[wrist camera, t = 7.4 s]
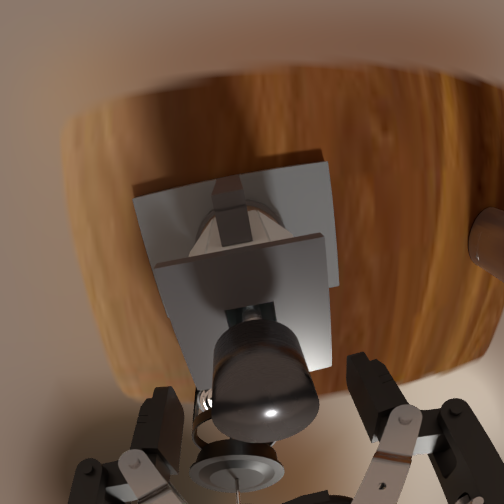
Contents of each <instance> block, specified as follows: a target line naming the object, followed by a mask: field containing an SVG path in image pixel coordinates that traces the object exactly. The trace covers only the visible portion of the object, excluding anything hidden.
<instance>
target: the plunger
mask: <svg viewBox="0 0 504 504" xmlns="http://www.w3.org/2000/svg"><path fill="white" fill-rule="evenodd" d="M241 312H242V322H241V323H238V324H236V325H234V326H232V327H231V328H229V329H228V330H226V331H225V332H224V333H223V334H222V335H221V336H220V338H219V339H218V341H217V343H216V345H215V348H214V355H213V378H212V407H211V416H212V420H213V423H214V425H215V426H216V427H217V429H218V430H220V431H221V432H222V433H223V434H225V435H227V436H229V437H231V438H233V439H236V440H239V441H244V442H251V443H266V442H273V441H278V440H282V439H285V438H288V437H290V436H293V435H295V434H297V433H299V432H300V431H302V430H303V429H305V428H306V427H307V426H308V425H309V424H310V423H311V422H312V421H313V420H314V418H315V417H316V415H317V413H318V410H319V399H318V396H317V393H316V390H315V387H314V384H313V381H312V378H311V375H310V372H309V369H308V366H307V363H306V361H305V358H304V355H303V352H302V349H301V346H300V343H299V341H298V338H297V336H296V335H295V334H294V332H293V331H292V330H291V329H289V328H288V327H287V326H285V325H283V324H281V323H279V322H276V321H272V320H265V319H262V315H261V310H260V305H259V304H257V305H252V306H247V307H241Z"/></svg>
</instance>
